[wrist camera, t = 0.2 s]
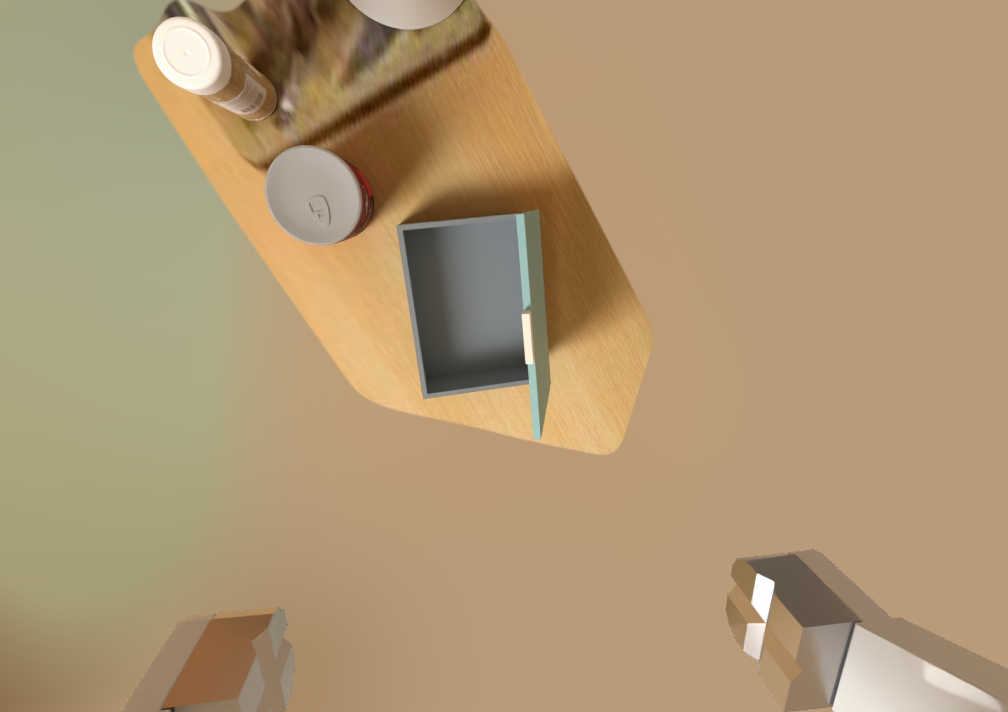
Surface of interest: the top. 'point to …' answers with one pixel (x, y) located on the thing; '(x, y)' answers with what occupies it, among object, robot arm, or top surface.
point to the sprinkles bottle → (211, 69)
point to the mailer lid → (534, 315)
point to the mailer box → (465, 303)
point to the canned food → (318, 196)
